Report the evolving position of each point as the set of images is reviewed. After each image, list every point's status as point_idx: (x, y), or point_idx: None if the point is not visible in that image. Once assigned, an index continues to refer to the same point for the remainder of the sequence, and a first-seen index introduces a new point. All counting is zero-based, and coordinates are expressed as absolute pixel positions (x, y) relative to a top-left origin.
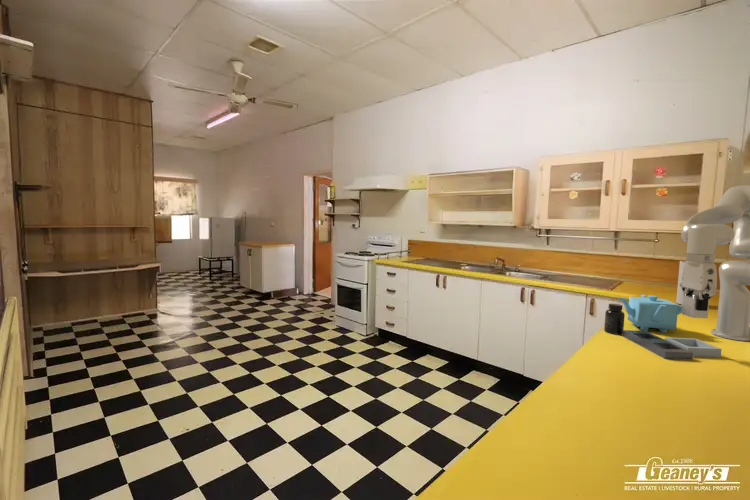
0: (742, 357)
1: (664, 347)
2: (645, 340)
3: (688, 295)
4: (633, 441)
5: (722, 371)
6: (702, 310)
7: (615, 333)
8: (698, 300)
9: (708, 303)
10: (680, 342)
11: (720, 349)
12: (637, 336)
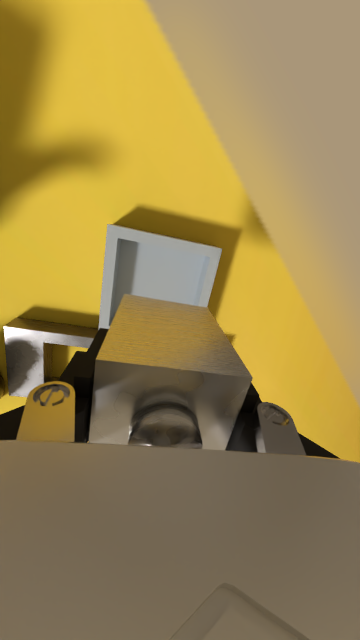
0: (227, 162)
1: None
2: None
3: (83, 436)
4: None
5: (284, 341)
6: None
7: (3, 392)
8: (229, 450)
9: (234, 355)
10: (114, 287)
11: (220, 251)
12: None
